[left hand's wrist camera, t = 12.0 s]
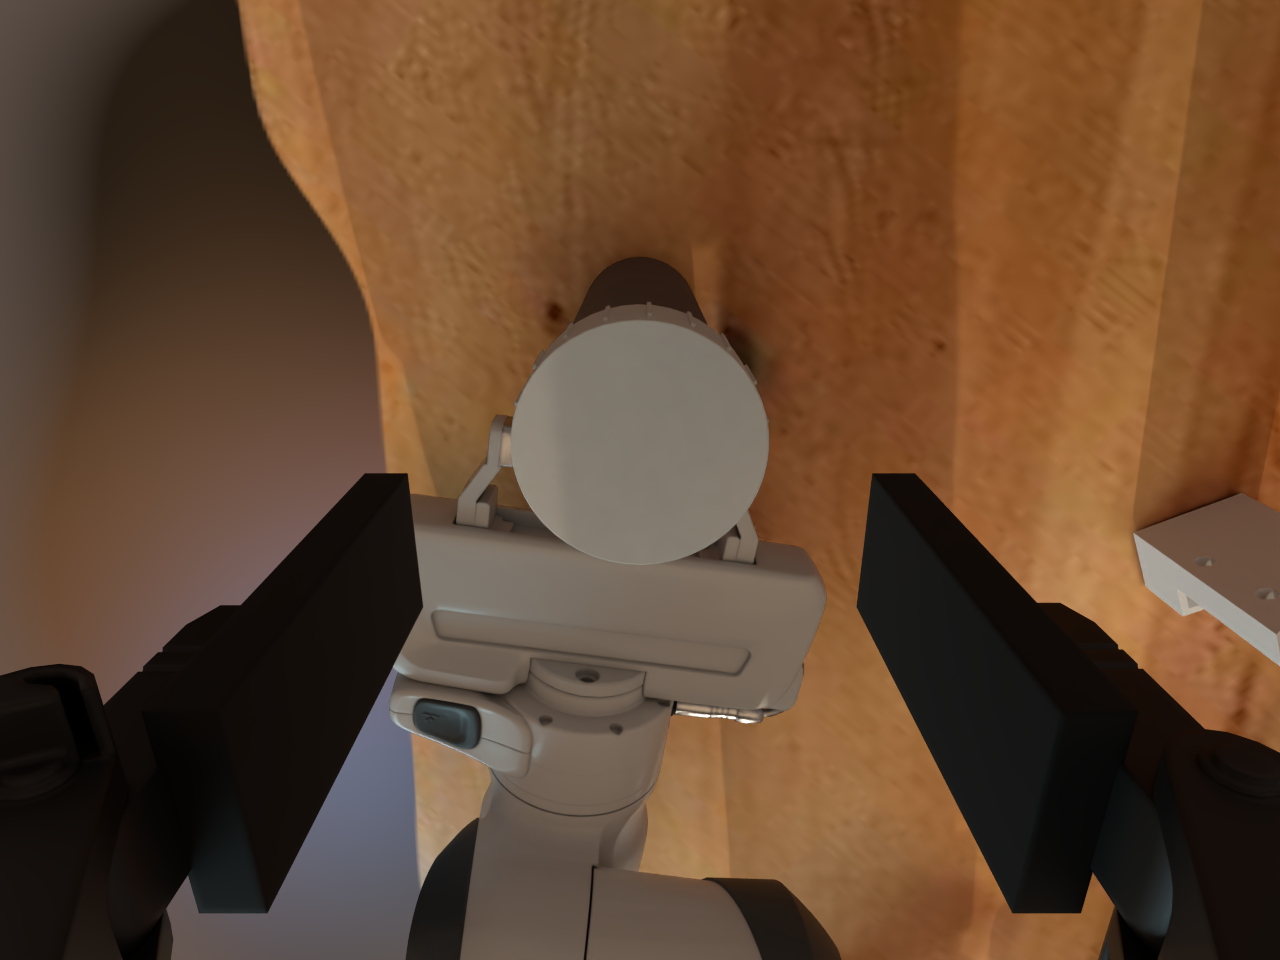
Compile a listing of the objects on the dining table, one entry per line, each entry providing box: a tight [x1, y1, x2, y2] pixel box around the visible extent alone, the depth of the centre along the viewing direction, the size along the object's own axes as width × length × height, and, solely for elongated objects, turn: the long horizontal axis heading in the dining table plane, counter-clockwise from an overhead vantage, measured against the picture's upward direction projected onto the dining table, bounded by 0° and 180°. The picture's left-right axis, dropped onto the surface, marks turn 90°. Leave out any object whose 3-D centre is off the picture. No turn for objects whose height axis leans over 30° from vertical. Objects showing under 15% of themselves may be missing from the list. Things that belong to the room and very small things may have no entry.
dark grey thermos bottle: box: [573, 257, 707, 325], centre depth 28 cm, size 6×6×20 cm
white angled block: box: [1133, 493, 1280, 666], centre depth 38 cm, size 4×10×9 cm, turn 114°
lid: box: [511, 302, 769, 565], centre depth 20 cm, size 6×6×2 cm
